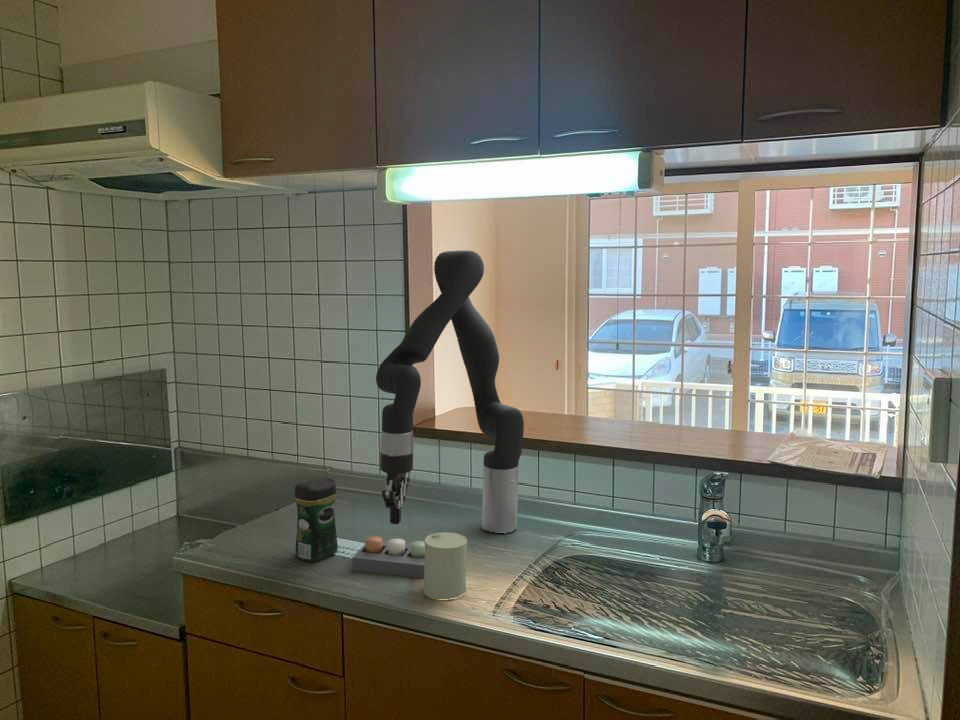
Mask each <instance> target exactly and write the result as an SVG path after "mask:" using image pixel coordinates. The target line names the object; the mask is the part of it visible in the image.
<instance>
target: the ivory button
mask: <svg viewBox="0 0 960 720" xmlns="http://www.w3.org/2000/svg"><path fill="white" fill-rule="evenodd" d="M388 540H389V541H388V555H397V556H403V555H404V554H405V542H406V541H405V539H402V538H391V539H388Z"/></svg>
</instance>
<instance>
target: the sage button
mask: <svg viewBox="0 0 960 720" xmlns="http://www.w3.org/2000/svg"><path fill="white" fill-rule="evenodd" d="M410 557H415V558H424V559H425V542H424V540H416V541H412V542H411V544H410Z"/></svg>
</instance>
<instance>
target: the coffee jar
mask: <svg viewBox="0 0 960 720" xmlns="http://www.w3.org/2000/svg"><path fill="white" fill-rule="evenodd" d="M336 486H337V485H336V482H335V480H334V479H333V478H330V477H327V476H324V475H323V476H322V475H321V476H320V477H316V478H313V479H309V480H306V481H303V482H298V483H297V484H295V487H294V501H295V504H296V507H297V523H296V524H297V525H296V526H297V527H296V538H295V539H296V541H295V555H296V557H297V558H299V559H301V560H303V561H305V562H306V561H310V562H316V561H317V562H318V561H321V560H323V559H326V558H328V557H331V556H333V555H334V554H336V553H337V551H338V547H339V546H338V535H337V534H338V533H337V528H336V525H337V524H336V517H335V516H336V515H335V514H336V513H335V505H336V504H335V503H336V499H337V495H338V494H337V493H338V492H337V487H336Z"/></svg>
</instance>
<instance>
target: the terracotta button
mask: <svg viewBox="0 0 960 720" xmlns="http://www.w3.org/2000/svg"><path fill="white" fill-rule="evenodd" d="M383 540H384V539H383V537H381V536H369V537H366V538H365V540H364V541H365V542H364V543H365V544H364V545H365V552H369V553H378V554H380V553H381V552H382V551H383Z"/></svg>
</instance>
